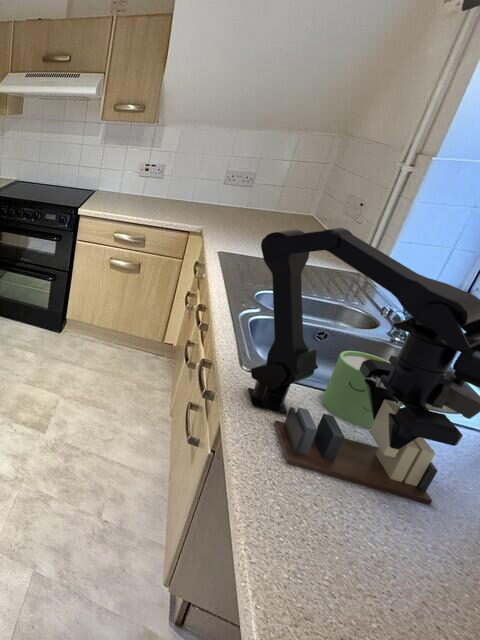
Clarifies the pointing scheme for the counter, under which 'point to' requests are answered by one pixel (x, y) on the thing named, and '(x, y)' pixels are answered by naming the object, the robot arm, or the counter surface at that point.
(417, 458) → the cream book
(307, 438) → the grey book
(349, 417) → the mug
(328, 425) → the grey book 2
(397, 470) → the cream book
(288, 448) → the book rack
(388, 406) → the cream book
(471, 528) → the counter surface
